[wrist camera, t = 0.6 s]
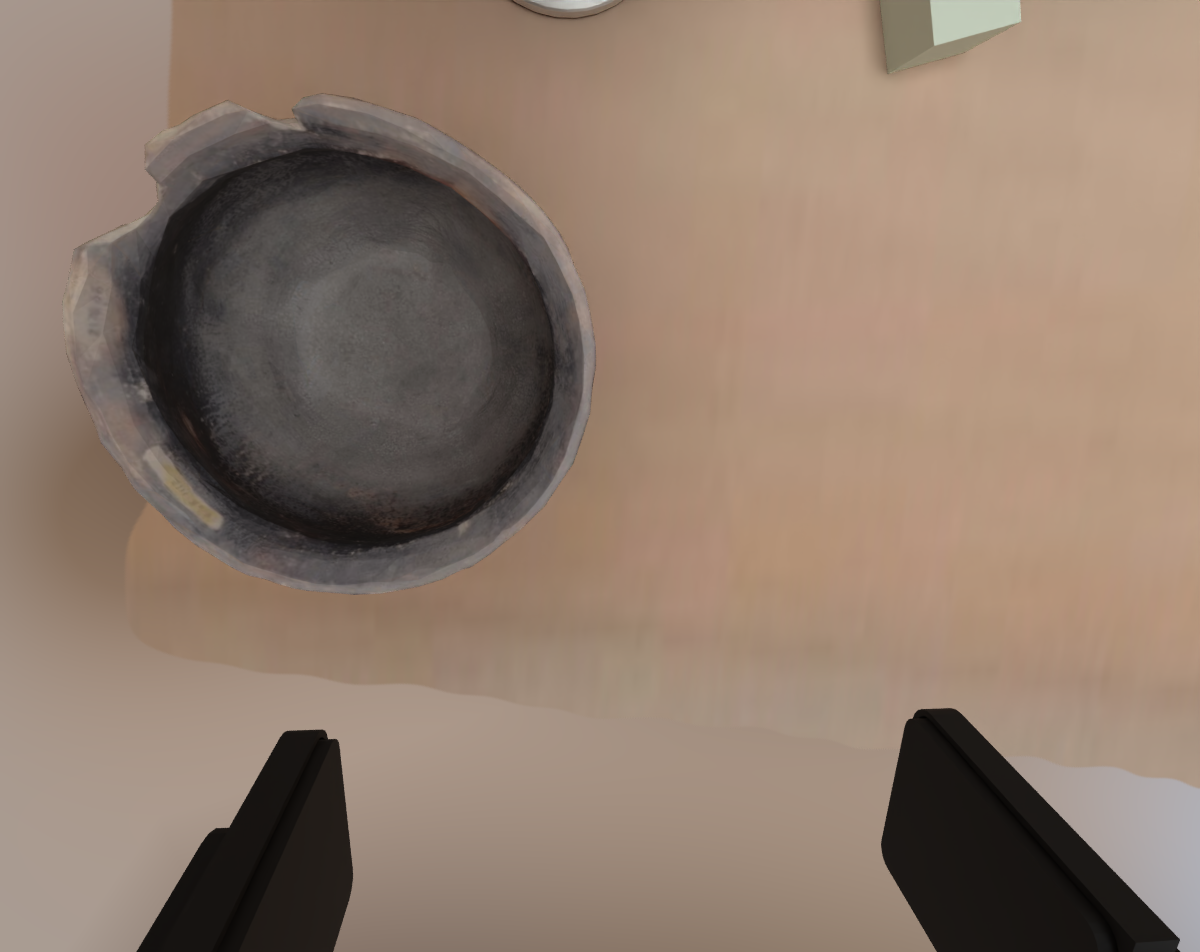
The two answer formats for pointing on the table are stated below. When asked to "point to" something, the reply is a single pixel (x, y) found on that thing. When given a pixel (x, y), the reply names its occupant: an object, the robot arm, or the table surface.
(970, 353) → the table surface
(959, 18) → the sage cube
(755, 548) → the table surface
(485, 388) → the ceramic bowl
